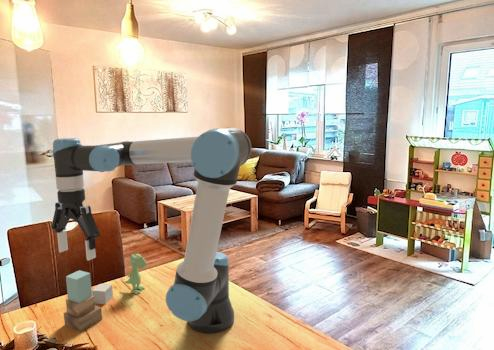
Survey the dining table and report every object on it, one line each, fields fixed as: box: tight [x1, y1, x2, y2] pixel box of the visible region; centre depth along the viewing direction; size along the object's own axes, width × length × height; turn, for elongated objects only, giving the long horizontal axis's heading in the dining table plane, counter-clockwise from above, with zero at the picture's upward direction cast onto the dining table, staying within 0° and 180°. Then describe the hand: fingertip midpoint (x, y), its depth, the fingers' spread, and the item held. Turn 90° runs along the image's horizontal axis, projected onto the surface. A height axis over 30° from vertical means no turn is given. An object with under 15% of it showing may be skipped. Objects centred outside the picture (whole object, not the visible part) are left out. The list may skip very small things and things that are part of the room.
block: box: [91, 283, 114, 305], centre depth 129 cm, size 5×5×5 cm
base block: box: [63, 304, 103, 333], centre depth 116 cm, size 8×8×4 cm
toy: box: [122, 253, 147, 295], centre depth 135 cm, size 7×8×15 cm
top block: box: [65, 296, 96, 318], centre depth 115 cm, size 6×6×4 cm
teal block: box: [65, 269, 93, 303], centre depth 114 cm, size 5×5×8 cm
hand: (77, 254), depth 112 cm, fingers open, 13 cm apart
